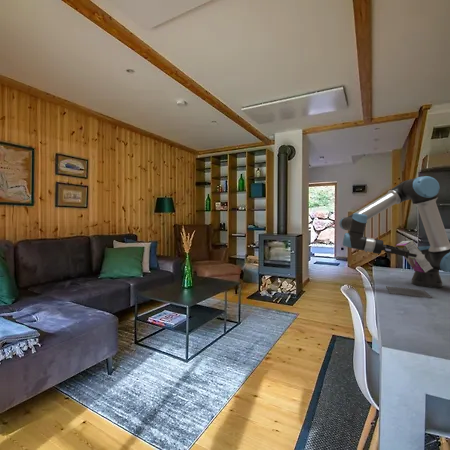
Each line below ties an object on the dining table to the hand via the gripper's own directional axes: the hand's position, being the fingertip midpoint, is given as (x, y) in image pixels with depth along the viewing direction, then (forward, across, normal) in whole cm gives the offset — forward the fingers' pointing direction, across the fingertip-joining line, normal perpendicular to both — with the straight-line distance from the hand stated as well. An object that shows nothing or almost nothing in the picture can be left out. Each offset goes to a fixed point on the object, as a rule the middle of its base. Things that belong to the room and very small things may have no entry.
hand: (420, 255), depth 143 cm
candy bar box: (+3, 0, -7) cm, 8 cm away
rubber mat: (-1, -2, -21) cm, 21 cm away
